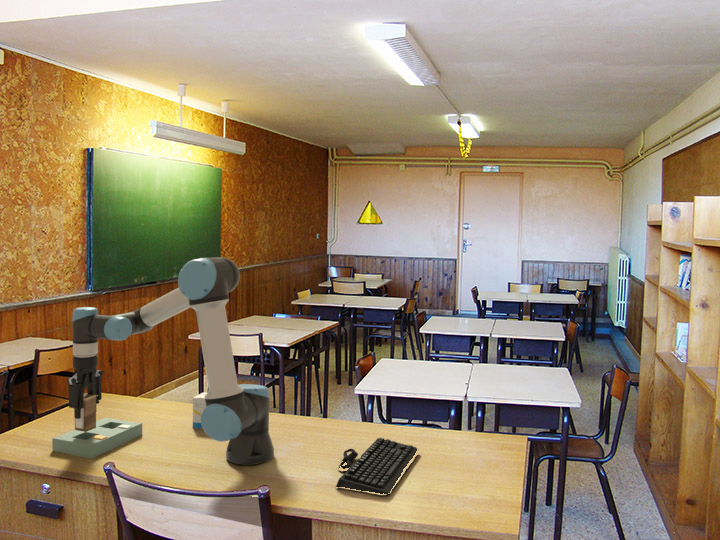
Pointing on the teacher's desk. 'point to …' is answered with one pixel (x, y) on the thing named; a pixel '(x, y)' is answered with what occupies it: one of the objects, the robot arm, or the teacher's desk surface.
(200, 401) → the ink box
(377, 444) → the keyboard
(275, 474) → the teacher's desk surface
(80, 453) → the socket board
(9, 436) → the teacher's desk surface
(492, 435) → the teacher's desk surface
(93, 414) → the plug
